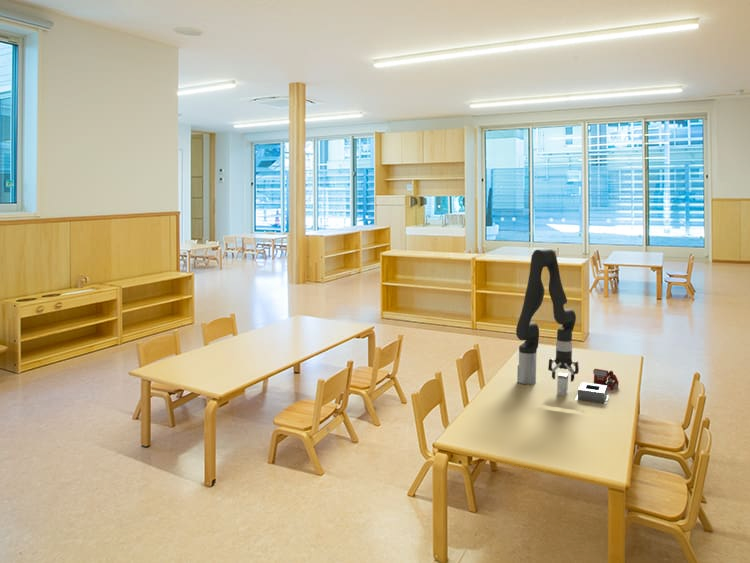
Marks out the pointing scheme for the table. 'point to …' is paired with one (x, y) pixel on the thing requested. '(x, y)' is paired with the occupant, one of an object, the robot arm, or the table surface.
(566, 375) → the brushed square peg
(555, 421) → the table surface
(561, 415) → the table surface
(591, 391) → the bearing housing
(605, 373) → the toy fire truck
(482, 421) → the table surface
